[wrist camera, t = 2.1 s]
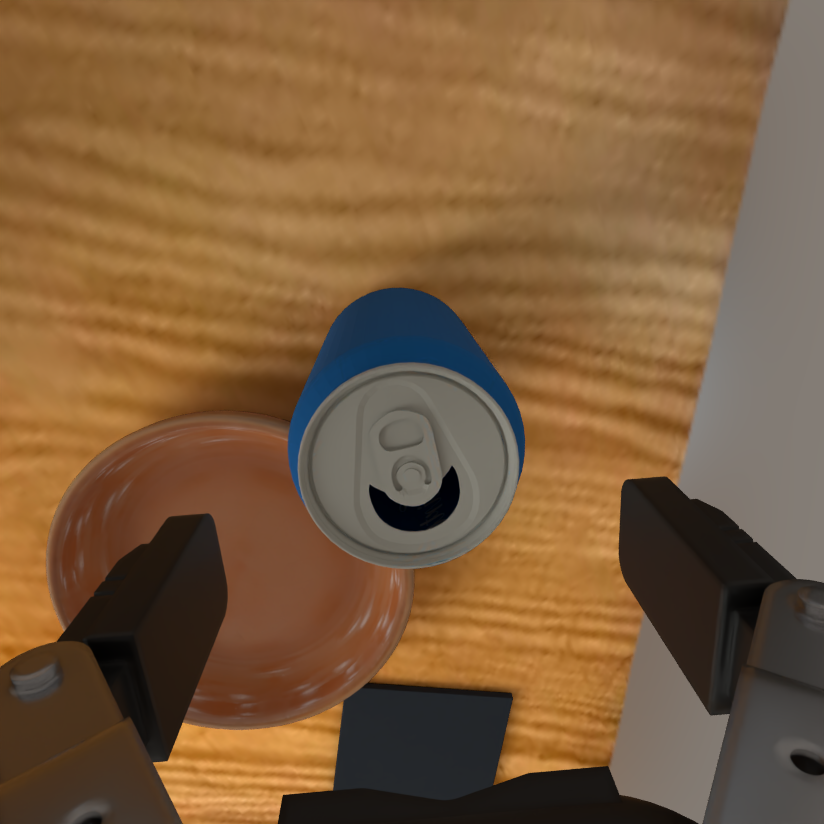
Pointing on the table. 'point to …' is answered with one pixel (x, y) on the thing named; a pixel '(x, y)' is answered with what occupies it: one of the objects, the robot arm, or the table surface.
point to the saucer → (236, 565)
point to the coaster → (421, 740)
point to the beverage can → (405, 434)
